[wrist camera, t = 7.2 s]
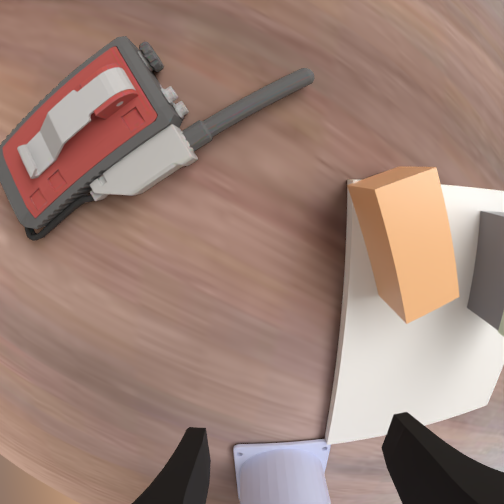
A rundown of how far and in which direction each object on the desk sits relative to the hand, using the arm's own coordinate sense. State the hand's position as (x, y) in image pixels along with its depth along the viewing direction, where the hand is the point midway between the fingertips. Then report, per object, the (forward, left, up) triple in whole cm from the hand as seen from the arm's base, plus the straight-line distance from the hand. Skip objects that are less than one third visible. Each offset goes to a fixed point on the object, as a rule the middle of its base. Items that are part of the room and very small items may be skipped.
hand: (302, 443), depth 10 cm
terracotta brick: (+6, -7, -9) cm, 13 cm away
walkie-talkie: (+13, +8, -10) cm, 19 cm away
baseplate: (-1, -13, -10) cm, 16 cm away
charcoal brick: (+4, -16, -9) cm, 18 cm away
